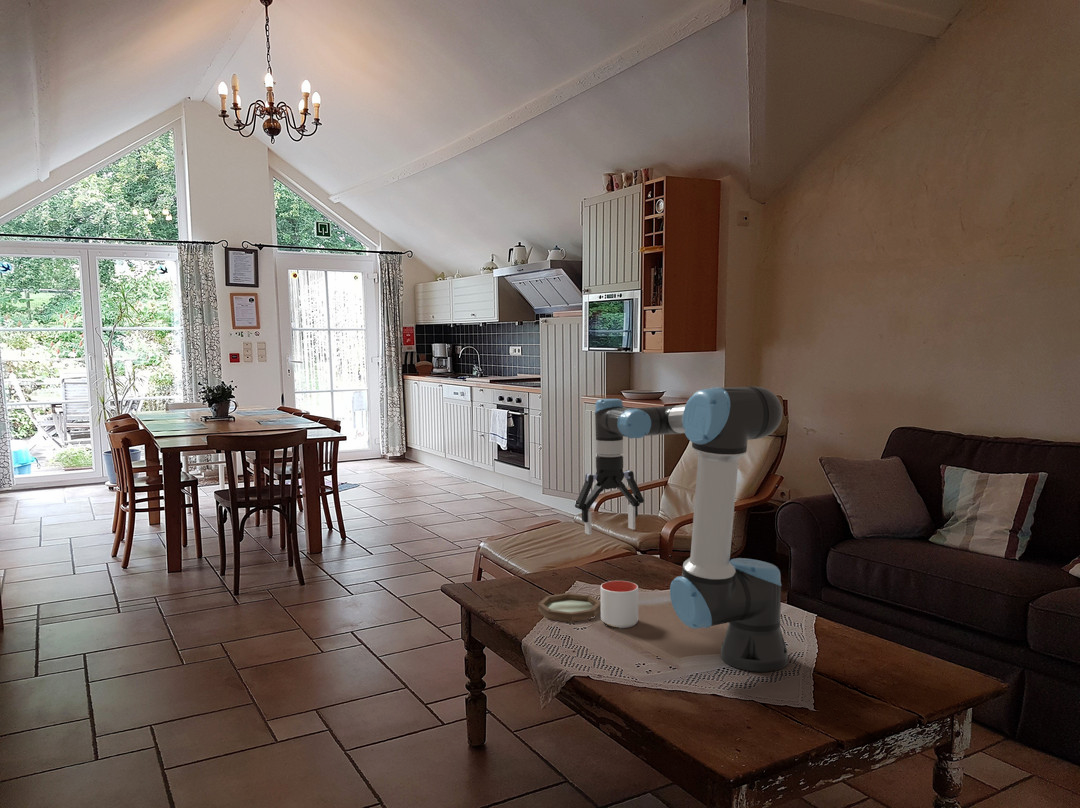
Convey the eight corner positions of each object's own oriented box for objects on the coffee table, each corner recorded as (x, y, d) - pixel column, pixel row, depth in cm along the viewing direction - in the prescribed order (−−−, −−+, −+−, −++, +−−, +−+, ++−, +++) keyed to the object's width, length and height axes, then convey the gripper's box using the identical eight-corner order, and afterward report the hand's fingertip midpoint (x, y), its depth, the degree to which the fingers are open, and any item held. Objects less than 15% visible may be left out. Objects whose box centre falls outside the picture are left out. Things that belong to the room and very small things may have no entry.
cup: (640, 629, 199) (640, 592, 198) (601, 629, 199) (601, 592, 198) (636, 616, 209) (636, 580, 208) (599, 616, 209) (599, 580, 208)
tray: (609, 615, 209) (609, 607, 209) (555, 624, 203) (555, 616, 203) (583, 597, 224) (583, 590, 224) (531, 606, 218) (531, 598, 218)
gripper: (642, 450, 218) (642, 523, 220) (562, 456, 209) (563, 533, 210) (655, 453, 211) (656, 529, 213) (574, 459, 202) (575, 539, 203)
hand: (610, 531), depth 211 cm, fingers open, 13 cm apart
